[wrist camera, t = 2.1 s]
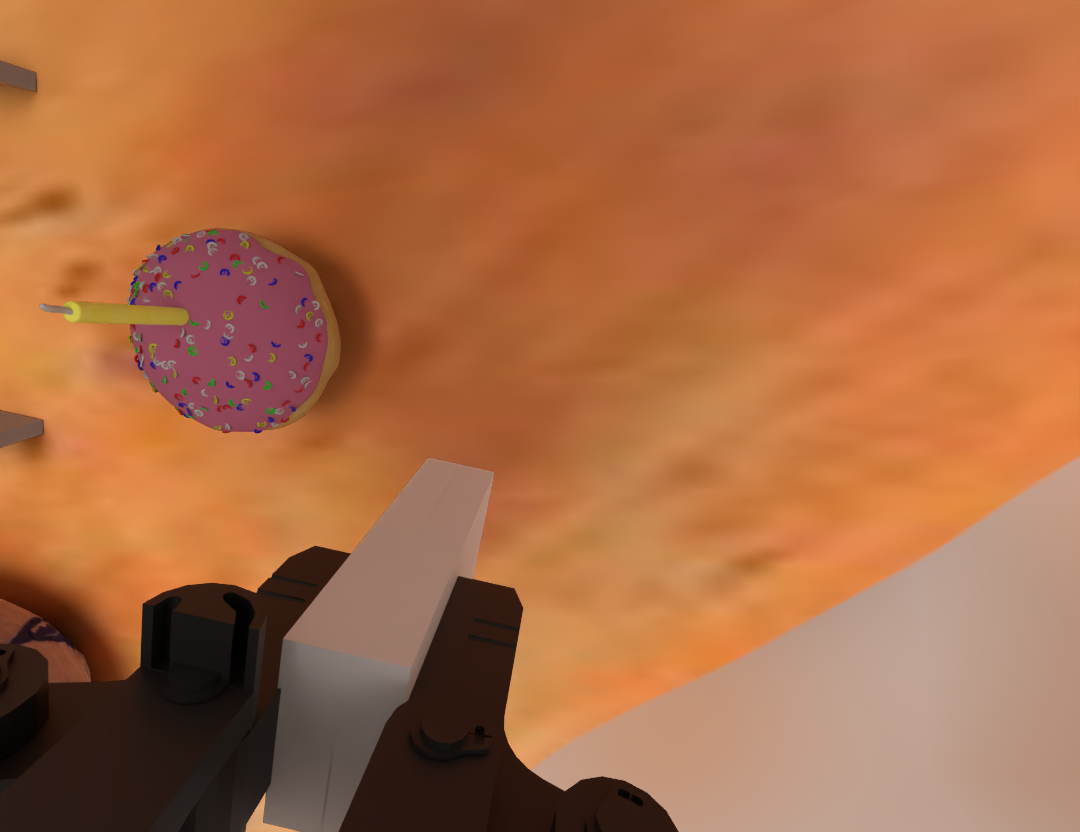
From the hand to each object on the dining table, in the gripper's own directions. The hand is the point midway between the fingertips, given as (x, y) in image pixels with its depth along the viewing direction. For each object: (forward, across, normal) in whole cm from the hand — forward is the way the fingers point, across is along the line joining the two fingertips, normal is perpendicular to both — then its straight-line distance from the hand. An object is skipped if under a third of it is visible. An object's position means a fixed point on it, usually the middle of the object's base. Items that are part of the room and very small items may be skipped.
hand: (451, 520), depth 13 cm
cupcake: (+17, -12, 0) cm, 20 cm away
